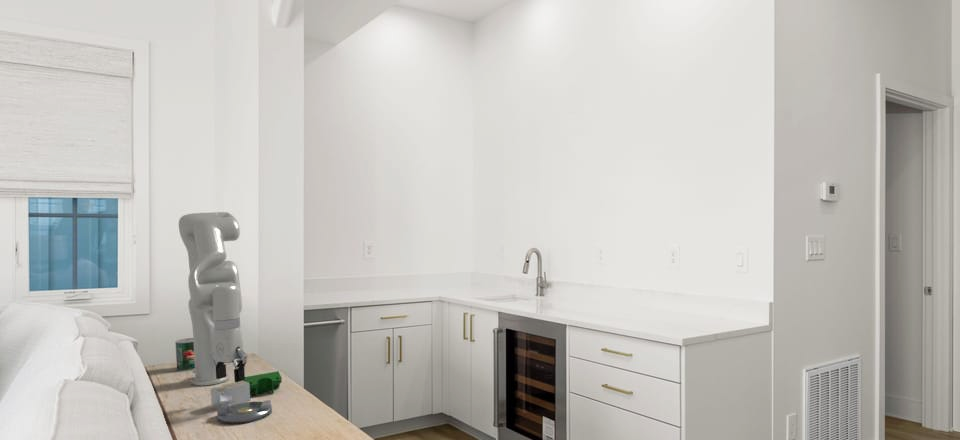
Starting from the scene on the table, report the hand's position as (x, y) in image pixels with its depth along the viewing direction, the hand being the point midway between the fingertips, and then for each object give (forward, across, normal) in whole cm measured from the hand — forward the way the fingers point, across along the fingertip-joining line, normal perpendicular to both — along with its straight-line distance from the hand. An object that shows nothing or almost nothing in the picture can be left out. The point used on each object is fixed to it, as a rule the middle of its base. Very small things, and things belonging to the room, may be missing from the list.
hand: (230, 379), depth 190 cm
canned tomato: (+6, -57, +18) cm, 60 cm away
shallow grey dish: (+8, +12, -4) cm, 15 cm away
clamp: (+8, -2, +12) cm, 15 cm away
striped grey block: (+8, -1, 0) cm, 8 cm away
